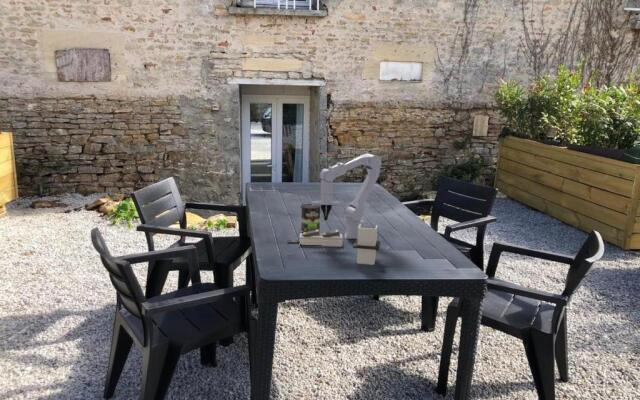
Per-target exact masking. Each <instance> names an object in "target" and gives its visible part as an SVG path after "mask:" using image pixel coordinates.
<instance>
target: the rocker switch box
mask: <svg viewBox="0 0 640 400" xmlns="http://www.w3.org/2000/svg"><path fill="white" fill-rule="evenodd" d="M288 241H297V242H300V243H299V245H300V244H305V245H322V246H321V247H339V248H340V247H343V234H342V233H339V235H337V236H332V237H323V233H320V235H315V236H311V237H303V233H302V232H300V233H299V240H298V239H296V240H295V239H287V242H288Z"/></svg>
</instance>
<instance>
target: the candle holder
mask: <svg viewBox="0 0 640 400" xmlns="http://www.w3.org/2000/svg"><path fill="white" fill-rule="evenodd" d="M377 235H378V224H377V225H376V226H375V228H371V227H370V228H367V227H364V228H361V224H359V227H358V239H354V242H353V245H352V248H353V249H357V255H356V263H357V264H360V265H371V266H372V265H373V266H374V265H375V264H376V258H377V257H376V255H377V254H376V253H377V251H379V250H380V247H381V241H380V240H378V238H377V237H378V236H377Z"/></svg>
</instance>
